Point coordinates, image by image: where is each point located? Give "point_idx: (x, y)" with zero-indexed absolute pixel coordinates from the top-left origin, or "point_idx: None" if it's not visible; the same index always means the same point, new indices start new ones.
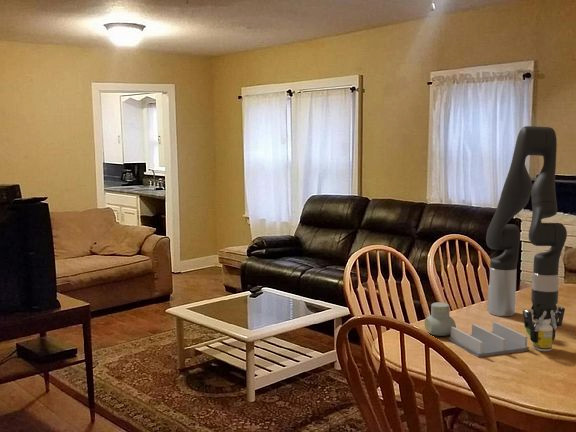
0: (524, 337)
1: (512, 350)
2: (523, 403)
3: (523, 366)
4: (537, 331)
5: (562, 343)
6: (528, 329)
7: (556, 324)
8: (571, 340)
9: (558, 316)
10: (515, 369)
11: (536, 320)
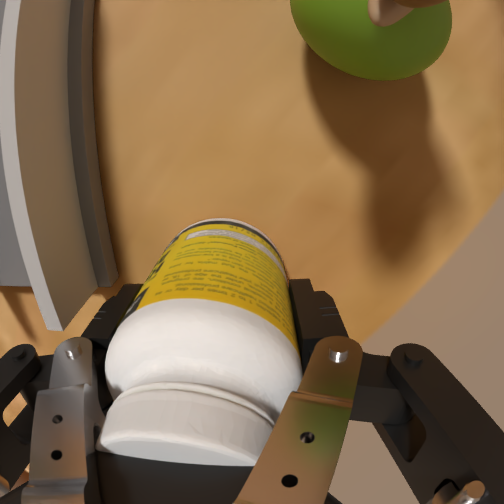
0: (48, 320)
1: (23, 283)
2: (27, 470)
3: None
4: None
5: (423, 226)
6: (291, 10)
7: (365, 412)
8: (495, 200)
9: (420, 473)
10: (20, 397)
11: (106, 416)
